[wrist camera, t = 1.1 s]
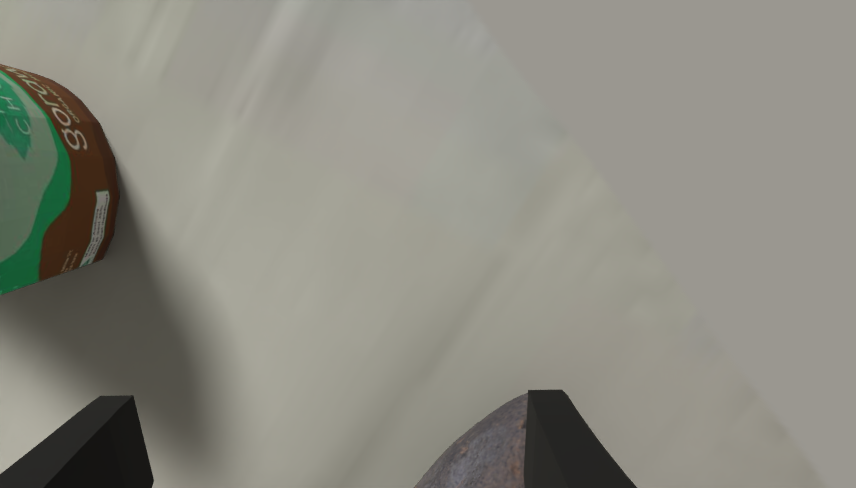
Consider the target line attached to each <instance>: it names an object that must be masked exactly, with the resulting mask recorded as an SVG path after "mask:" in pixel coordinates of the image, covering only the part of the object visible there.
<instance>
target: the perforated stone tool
mask: <svg viewBox="0 0 856 488" xmlns="http://www.w3.org/2000/svg"><path fill="white" fill-rule="evenodd" d="M527 402H528V393H526V394H524V395H521V396H519V397H517V398H515V399H513V400H511V401H509V402H507V403H506V404H504V405H502V406H501V407H500V408H498V409H496V410H495V411H493V412H492V413H491V414H489V415H488V416H487V417H485V418H484V419H483V420H482V421H480V422H478V423H477V424H475V425H474V426H473V427H472V428H471V429H469V430H468V431H467V432H466V433H465V434H463V435H462V436H461V437H460V438H459V439H457V440H456V441H455V442H454V443H453V444H452V445H451V446H450V447H449V448H448V449H447V450H446V451H445V452H444V453H443V454H442V455H441V456H440V457H439V458H438V459H437V461H436V462H435V463H434V464H433V465H432V466H431V467H430V469H429V470H428V471H427V472H426V473H425V475H424V476H423V477H422V479H421V480H420V481H419V482H418V484H417V485H416V486H415V487H414V488H525V485H524V476H523V475H524V457H525V438H526V420H527Z"/></svg>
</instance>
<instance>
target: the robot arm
mask: <svg viewBox="0 0 856 488" xmlns="http://www.w3.org/2000/svg"><path fill="white" fill-rule="evenodd" d="M523 476H524V485H525V488H637V487H636V486H635V485H634V483H633V482H632V481H631V480H630V479H629V478H628V477H627V475H626V474H625V473H624V472H623V470H622V469H621V468H620V467H619V466H618V464H617V463H616V462H615V461H614V459H613V458H612V457H611V456H610V454H609V453H608V452H607V451H606V449H605V448H604V447H603V445H602V444H601V443H600V442H599V440H598V439H597V438H596V436H595V435H594V433H593V432H592V431H591V429H590V428H589V427H588V425H587V424H586V422H585V421H584V419H583V418H582V417H581V415H580V414H579V412H578V411H577V409H576V408H575V406H574V405H573V403H572V402H571V400H570V399H569V397H568V395H567V394H566V393H565V392H564V391H563V390H528V402H527V420H526V438H525V457H524V475H523ZM153 482H154V479H153V475H152V471H151V467H150V463H149V458H148V454H147V450H146V446H145V442H144V438H143V434H142V430H141V425H140V421H139V417H138V413H137V409H136V405H135V401H134V397H133V396H100V397H98V398H97V399H95V400H94V401H93V402H91V403H90V404H89V405H87V406H86V407H85V408H83V409H82V410H81V411H79V412H78V413H77V414H76V415H74V416H73V417H72V418H71V419H69V420H68V421H67V422H66V423H64V424H63V425H62V426H61V427H59V428H58V429H57V430H56V431H54V432H53V433H52V434H51V435H49V436H48V437H47V438H46V439H45V440H43V441H42V442H41V443H39V444H38V445H37V446H36V447H34V448H33V449H32V450H31V451H29V452H28V453H27V454H25V455H24V456H23V457H22V458H20V459H19V460H18V461H17V462H15V463H14V464H13V465H12V466H10V467H9V468H8V469H6V470H5V471H4V472H3V473H1V474H0V488H152V485H153Z"/></svg>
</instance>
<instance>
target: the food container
mask: <svg viewBox="0 0 856 488" xmlns="http://www.w3.org/2000/svg"><path fill="white" fill-rule="evenodd" d="M119 198H120V195H119V187H118V180H117V172H116V164H115V157H114V155H113V153H112V151H111V148H110V146H109V144H108V141H107V139H106V137H105V134H104V132H103V130H102V128H101V125H100V123H99V122H98V120H97V119H96V118H95V117H94V116H93V114H92V113H91V112H90V111H89V109H88V108H87V107H86V106H85V104H84V103H83V102H82V101H81V100H80V99H79V98H78V97H77V96H75V95H74V94H73V93H72V92H71V91H69V90H68V89H67V88H65V87H63V86H62V85H60V84H58V83H56V82H55V81H53V80H51V79H48V78H45V77H43V76H40V75H37V74H34V73H30V72H27V71H23V70H19V69H16V68H12V67H9V66H5V65H1V64H0V295H2V294H5V293H8V292H11V291H13V290H16V289H19V288H22V287H25V286H28V285H31V284H34V283H36V282H39V281H42V280H45V279H48V278H51V277H54V276H56V275H59V274H62V273H65V272H68V271H71V270H74V269H77V268H79V267H82V266H85V265H88V264H91V263H94V262H97V261H100V260H102V259H103V257H104V255H105V253H106V251H107V248H108V246H109V244H110V242H111V239H112V237H113V235H114V230H115V223H116V217H117V211H118V204H119Z"/></svg>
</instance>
